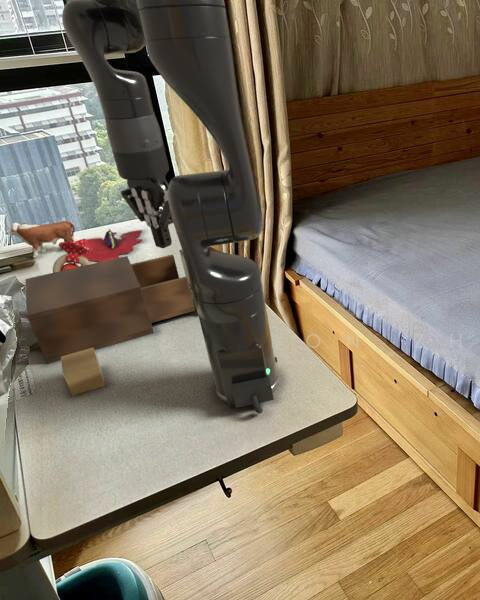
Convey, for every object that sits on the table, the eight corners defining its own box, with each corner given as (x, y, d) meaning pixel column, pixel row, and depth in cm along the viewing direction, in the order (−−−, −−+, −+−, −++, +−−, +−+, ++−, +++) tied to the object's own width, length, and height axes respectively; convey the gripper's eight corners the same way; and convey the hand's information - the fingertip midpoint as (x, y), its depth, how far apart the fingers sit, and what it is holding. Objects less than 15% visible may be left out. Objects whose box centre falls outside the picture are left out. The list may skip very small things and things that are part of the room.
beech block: (105, 385, 84) (96, 361, 82) (72, 396, 82) (62, 372, 80) (102, 370, 88) (93, 347, 86) (70, 380, 86) (60, 356, 84)
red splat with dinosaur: (146, 268, 127) (143, 251, 124) (76, 277, 121) (70, 259, 119) (142, 231, 140) (138, 215, 137) (78, 238, 134) (73, 221, 131)
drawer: (223, 273, 115) (217, 241, 111) (243, 300, 105) (237, 265, 101) (110, 303, 105) (99, 268, 101) (120, 335, 95) (108, 298, 91)
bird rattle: (75, 306, 110) (114, 281, 111) (32, 265, 104) (74, 239, 105) (77, 292, 115) (115, 269, 116) (36, 253, 109) (76, 228, 110)
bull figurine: (20, 253, 128) (7, 221, 124) (82, 245, 131) (71, 213, 127) (14, 261, 125) (1, 228, 120) (79, 252, 128) (67, 220, 124)
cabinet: (140, 298, 108) (127, 255, 103) (154, 332, 97) (140, 286, 92) (43, 323, 101) (25, 278, 96) (47, 363, 90) (26, 315, 85)
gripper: (185, 143, 85) (207, 245, 93) (131, 135, 91) (156, 231, 99) (144, 155, 79) (172, 262, 88) (89, 145, 85) (120, 246, 94)
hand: (164, 245), depth 94 cm, fingers closed
